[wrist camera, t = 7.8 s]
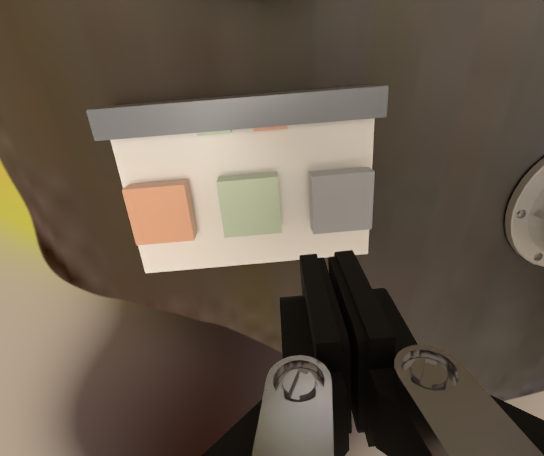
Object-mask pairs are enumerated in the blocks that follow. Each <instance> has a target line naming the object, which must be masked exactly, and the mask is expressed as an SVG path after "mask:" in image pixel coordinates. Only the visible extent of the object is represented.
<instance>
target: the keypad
mask: <svg viewBox="0 0 544 456" xmlns="http://www.w3.org/2000/svg"><path fill="white" fill-rule="evenodd" d="M388 87H389V86H384V85H357V86H345V87H332V88H320V89H308V90H295V91H283V92H270V93H258V94H245V95H233V96H221V97H208V98H196V99H183V100H171V101H159V102H146V103H134V104H121V105H112V106H106V107H101V108H95V109H89V110H86V112H87V115H88V119H89V123H90V126H91V130H92V133H93V137H94V140H95V141H102V140H111V144H112V148H113V152H114V155H115V159H116V163H117V167H118V171H119V175H120V178H121V182H122V186H123V189H124V188H125V187H126V186H127V185H128V184H138V183H150V182H162V181H174V180H185V179H188V184H189V189H190V195H191V201H192V206H193V212H194V217H195V223H196V228H197V235H196V237H195V240H194V241H182V242H171V243H159V244H147V245H138V247H139V251H140V255H141V258H142V262H143V266H144V270H145V273H155V272H166V271H177V270H189V269H200V268H212V267H223V266H235V265H246V264H257V263H269V262H280V261H292V260H300V257H299V256H300V255H307V254H317V257H318V258H323V257H324V258H326V257H333V256H334V253H335V252H338V251H348V250H353V252H354V254H355V255H360V254H368V244H369V229H368V230H356V231H345V232H333V233H322V234H313V232H312V230H311V227H310V198H309V172H310V171H322V170H334V169H346V168H358V167H370V168H371V169H372V161H373V140H374V119H375V118H383V117H387V103H388ZM269 172H277V174H278V183H279V197H280V212H281V227H282V233H274V234H263V235H251V236H240V237H228V238H224V231H223V224H222V218H221V211H220V204H219V197H218V190H217V183H216V182H217V179H218V177H221V176H233V175H245V174H257V173H269Z"/></svg>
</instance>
